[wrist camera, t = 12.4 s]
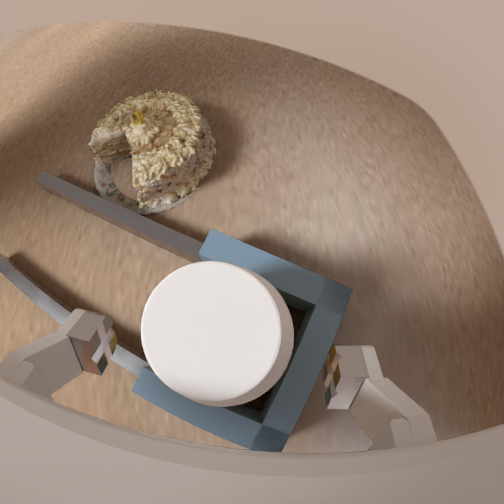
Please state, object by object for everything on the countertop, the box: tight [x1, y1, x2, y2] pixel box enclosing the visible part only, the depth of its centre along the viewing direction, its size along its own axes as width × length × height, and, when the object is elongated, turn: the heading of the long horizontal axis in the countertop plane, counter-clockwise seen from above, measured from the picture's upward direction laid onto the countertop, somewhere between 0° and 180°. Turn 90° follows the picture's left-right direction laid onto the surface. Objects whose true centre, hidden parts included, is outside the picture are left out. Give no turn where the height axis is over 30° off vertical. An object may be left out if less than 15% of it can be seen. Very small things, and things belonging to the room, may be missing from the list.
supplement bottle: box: [141, 261, 294, 407], centre depth 13 cm, size 5×5×10 cm
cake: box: [88, 88, 217, 215], centre depth 19 cm, size 10×10×5 cm
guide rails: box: [0, 171, 204, 376], centre depth 18 cm, size 16×8×2 cm, turn 66°
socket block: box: [132, 229, 353, 452], centre depth 16 cm, size 8×10×3 cm
